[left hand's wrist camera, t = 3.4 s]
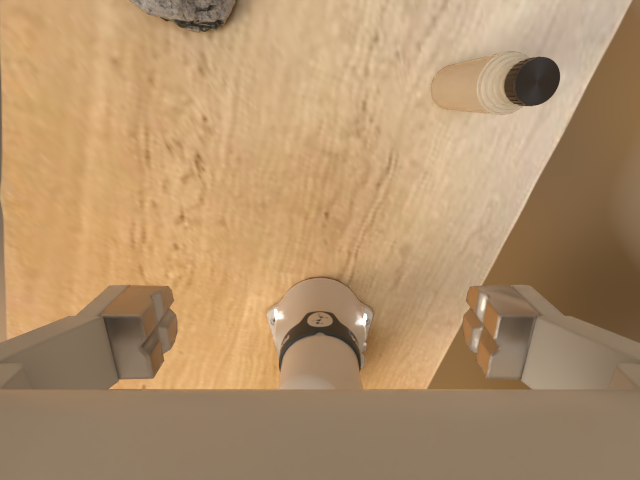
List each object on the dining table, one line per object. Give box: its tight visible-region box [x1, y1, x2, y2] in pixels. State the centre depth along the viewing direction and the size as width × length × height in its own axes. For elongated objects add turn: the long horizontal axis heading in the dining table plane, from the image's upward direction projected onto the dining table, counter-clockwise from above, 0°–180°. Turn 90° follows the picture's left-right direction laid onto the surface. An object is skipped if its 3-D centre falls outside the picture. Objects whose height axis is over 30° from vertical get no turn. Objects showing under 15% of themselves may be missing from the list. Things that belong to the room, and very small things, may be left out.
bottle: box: [431, 51, 529, 115], centre depth 42 cm, size 6×6×22 cm
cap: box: [504, 57, 560, 106], centre depth 33 cm, size 4×4×2 cm
